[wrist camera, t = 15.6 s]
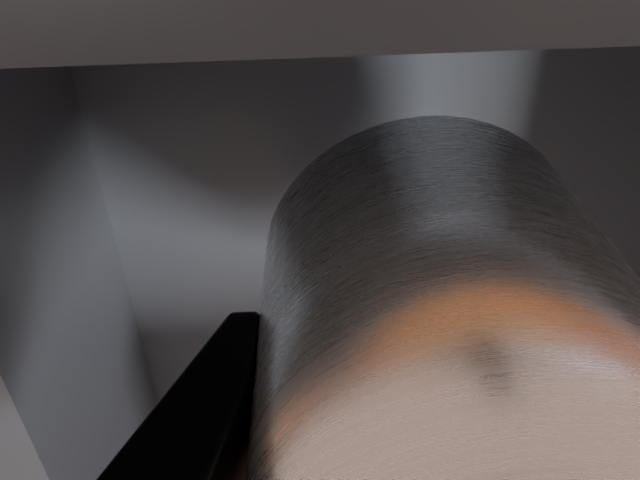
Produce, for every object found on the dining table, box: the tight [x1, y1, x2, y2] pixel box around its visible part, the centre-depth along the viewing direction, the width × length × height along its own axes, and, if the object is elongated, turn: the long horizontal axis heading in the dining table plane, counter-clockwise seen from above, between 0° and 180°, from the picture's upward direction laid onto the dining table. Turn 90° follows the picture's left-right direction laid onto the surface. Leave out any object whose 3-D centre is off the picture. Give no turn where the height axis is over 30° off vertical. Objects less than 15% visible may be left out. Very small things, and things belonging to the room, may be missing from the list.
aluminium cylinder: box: [245, 116, 640, 480], centre depth 7 cm, size 5×5×7 cm
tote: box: [0, 0, 640, 480], centre depth 13 cm, size 18×14×6 cm
